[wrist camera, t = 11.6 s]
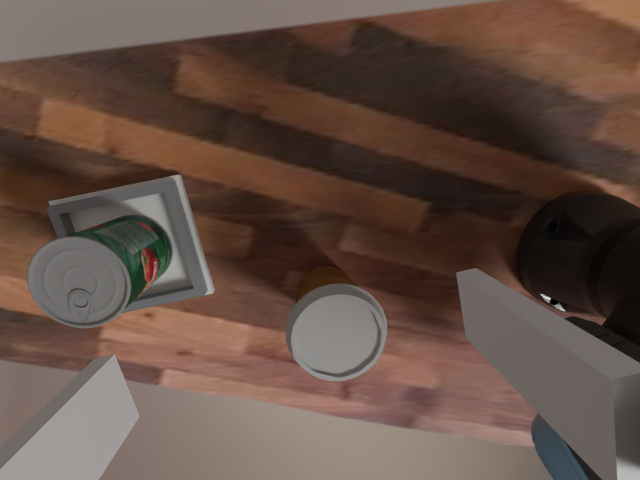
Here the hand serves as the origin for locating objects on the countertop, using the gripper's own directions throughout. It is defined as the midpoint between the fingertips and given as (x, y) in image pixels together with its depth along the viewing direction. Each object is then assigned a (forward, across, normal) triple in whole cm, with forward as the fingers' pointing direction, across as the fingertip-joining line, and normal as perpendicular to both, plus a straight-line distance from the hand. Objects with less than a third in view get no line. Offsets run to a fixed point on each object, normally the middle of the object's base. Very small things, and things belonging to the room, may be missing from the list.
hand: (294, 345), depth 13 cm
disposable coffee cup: (+28, -1, +9) cm, 30 cm away
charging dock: (+28, +18, -2) cm, 33 cm away
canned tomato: (+27, +18, -2) cm, 33 cm away
